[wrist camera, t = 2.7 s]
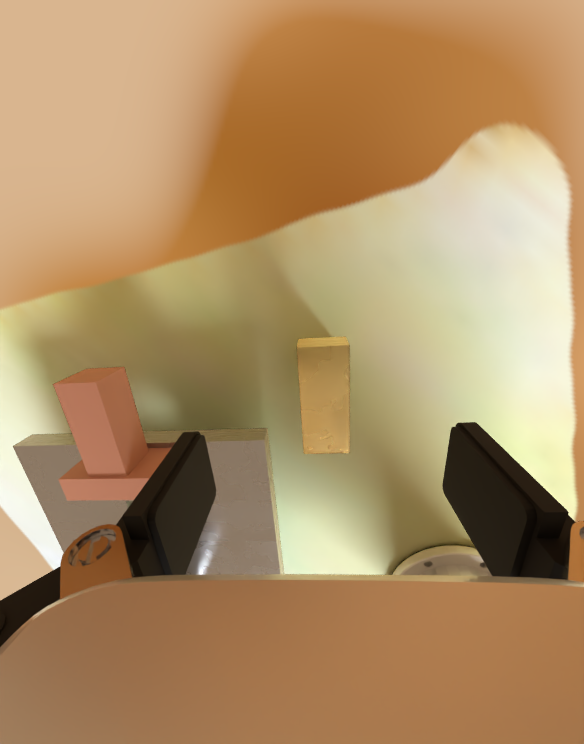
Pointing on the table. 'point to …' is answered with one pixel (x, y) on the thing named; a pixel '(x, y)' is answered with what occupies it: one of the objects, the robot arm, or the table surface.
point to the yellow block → (324, 394)
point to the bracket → (105, 437)
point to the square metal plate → (226, 518)
